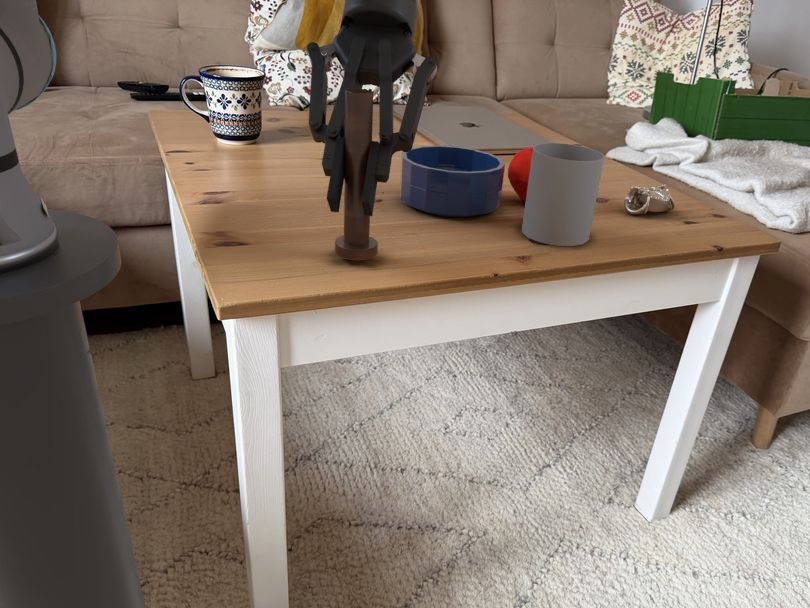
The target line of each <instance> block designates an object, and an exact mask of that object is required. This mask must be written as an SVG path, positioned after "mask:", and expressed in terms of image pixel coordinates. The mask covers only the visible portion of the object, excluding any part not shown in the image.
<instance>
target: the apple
mask: <svg viewBox="0 0 810 608" xmlns="http://www.w3.org/2000/svg"><path fill="white" fill-rule="evenodd" d="M532 153H533V146H530V147H526V148H523V149H520V150H519V151H518V152H516V153H515V154H514V156H513V157H512V158H511V160H510V162H509V165H508V168H507V179H508V181H509V183H510V185H511V187H512V189H513V191H514V192H515V194H516V195H517V196H518V197H519V199H520V200H522V201H523V202H525V203H526V196H527V189H528V181H529V174H530V167H531V160H532Z"/></svg>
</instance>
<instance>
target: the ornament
mask: <svg viewBox="0 0 810 608" xmlns="http://www.w3.org/2000/svg"><path fill="white" fill-rule="evenodd" d="M666 187H667V185H666V183H665V184H661V185H657V186H651V187H645V186H642V187H641V186H637V185H632V186H631V187H630V188H629V191H628V193H627V194H626V197H625V198H624V203H623V204H624V208H625V210H626V212H627V213H629V214H631V215H635V216H636V215H637V216H639V215H643V214H647V212H652V213H662V212H668V211H672V210H674V209H675V206H676V204H675V201H674V199H673V197H672V196H671V194H670V189H665V188H666ZM638 205H639V206H642V207H640V208H639V207H638Z"/></svg>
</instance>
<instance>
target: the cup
mask: <svg viewBox="0 0 810 608" xmlns="http://www.w3.org/2000/svg"><path fill="white" fill-rule="evenodd" d="M532 147H533V153H532V160H531V167H530V174H529V181H528V189H527V196H526V202H525V205H524V210H523V218H522V225H521V233H522V234H523V235H524V236H525V237H527V238H528V239H530V240H532V241H534V242H538V243H540V244H541V243H542V244H546V245H551V246H555V247H556V246H557V247H576V246H581V245H584V244H585V243H587V242H589V240H590V234H591V230H592V225H593V220H594V215H595V209H596V204H597V199H598V195H599V194H598V193H599V188H600V183H601V178H602V172H603V167H604V162H605V155H604V154H603V153H602V152H600V151H599V150H596V149H593V148H589V147H587V146H582V145H577V144H572V143H571V144H570V143H559V142H544V143H543V142H542V143H538V144H535V145H533V146H532Z"/></svg>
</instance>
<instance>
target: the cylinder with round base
mask: <svg viewBox="0 0 810 608" xmlns="http://www.w3.org/2000/svg"><path fill="white" fill-rule="evenodd" d="M373 117H374V91H372V90H370V89H364V88H362V89H355V88H352V89H346V90H345V158H344V183H343V235H340V236H338V237H337V238H335V240H334V253H335V255H336V256H338V257H339V258H342V259H344V260H350V261H366V260H372V259H374V258H376V257H377V256H378V252H379V242H378V240H377V239H376V238H375V237H372V236H370V230H371V229H370V226H371V225H370V224H371V216H367V215H364V210H363V206H362V196H363V190H364V183H365V177H366V170H367V164H368V157H369V151H370V144H371V141H373V123H374V122H373V121H374V120H373V119H374V118H373Z"/></svg>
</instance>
